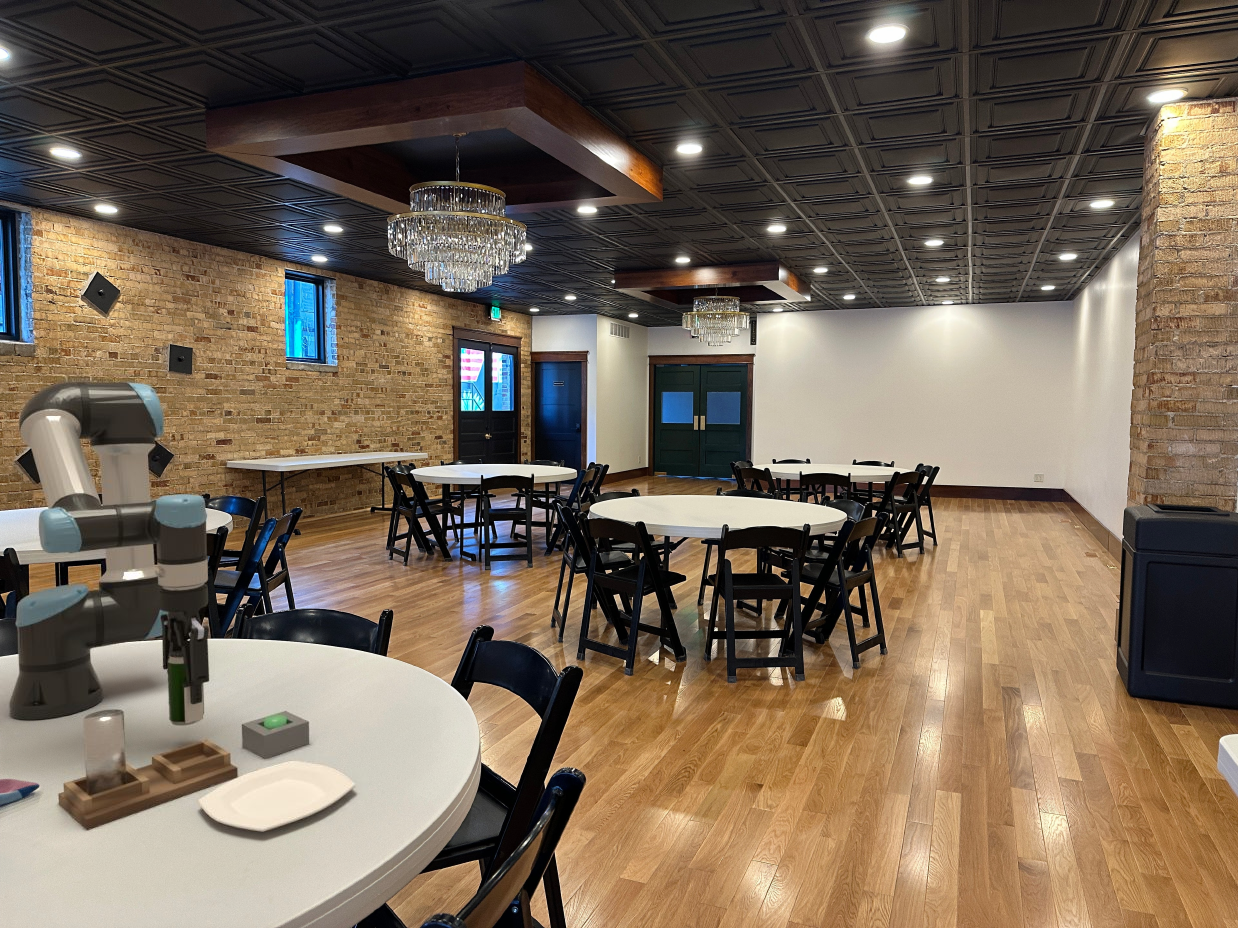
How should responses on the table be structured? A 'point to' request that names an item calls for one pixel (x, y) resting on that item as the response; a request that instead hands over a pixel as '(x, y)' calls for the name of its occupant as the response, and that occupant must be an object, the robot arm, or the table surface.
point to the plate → (276, 795)
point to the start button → (275, 721)
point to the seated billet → (104, 750)
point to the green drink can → (177, 688)
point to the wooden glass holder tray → (150, 784)
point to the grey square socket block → (275, 736)
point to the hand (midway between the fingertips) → (186, 715)
